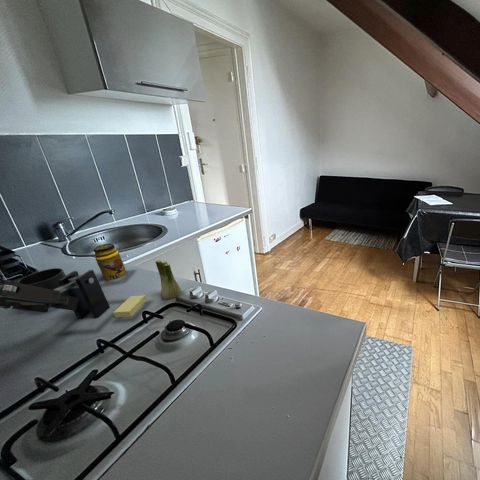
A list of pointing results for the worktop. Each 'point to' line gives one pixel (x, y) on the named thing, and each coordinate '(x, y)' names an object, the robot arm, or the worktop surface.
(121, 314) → the butter
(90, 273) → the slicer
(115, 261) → the condiment
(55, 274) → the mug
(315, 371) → the worktop surface
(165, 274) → the fennel bulb
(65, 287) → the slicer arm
